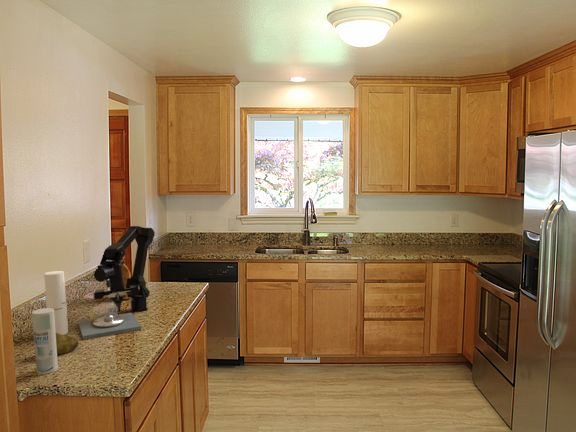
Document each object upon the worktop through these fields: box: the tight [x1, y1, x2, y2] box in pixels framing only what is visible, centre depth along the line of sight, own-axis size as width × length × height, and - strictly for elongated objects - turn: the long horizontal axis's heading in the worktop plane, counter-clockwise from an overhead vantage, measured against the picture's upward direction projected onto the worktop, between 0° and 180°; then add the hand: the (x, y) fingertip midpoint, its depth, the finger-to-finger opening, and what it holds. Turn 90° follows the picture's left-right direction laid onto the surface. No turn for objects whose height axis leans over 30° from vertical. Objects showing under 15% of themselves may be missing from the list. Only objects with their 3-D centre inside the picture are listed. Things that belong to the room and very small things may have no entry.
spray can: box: [31, 307, 59, 375], centre depth 157 cm, size 6×6×20 cm
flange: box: [93, 304, 124, 327], centre depth 202 cm, size 12×15×4 cm
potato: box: [56, 333, 79, 355], centre depth 173 cm, size 8×13×8 cm, turn 104°
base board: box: [77, 311, 142, 341], centre depth 200 cm, size 22×22×6 cm
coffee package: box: [112, 255, 132, 301], centre depth 246 cm, size 10×12×22 cm
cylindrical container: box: [43, 270, 69, 335], centre depth 193 cm, size 7×7×25 cm
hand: (119, 311), depth 209 cm, fingers closed
